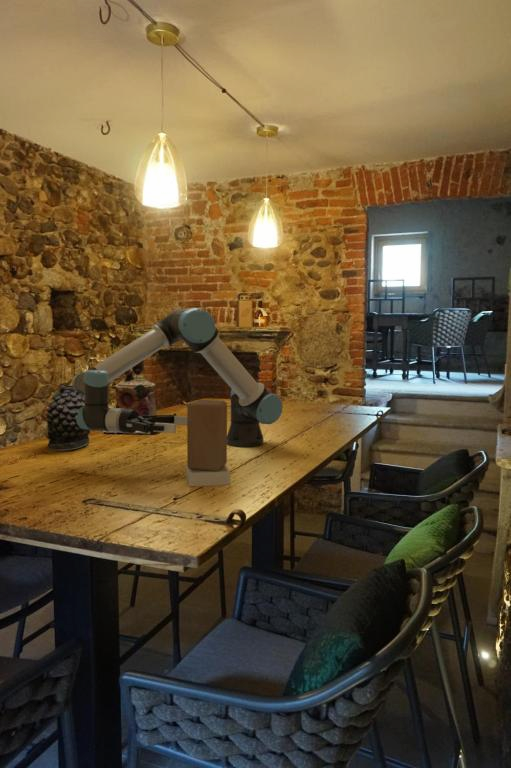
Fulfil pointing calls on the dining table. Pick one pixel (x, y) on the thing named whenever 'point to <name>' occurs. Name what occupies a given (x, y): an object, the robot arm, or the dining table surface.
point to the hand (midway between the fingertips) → (184, 424)
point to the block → (206, 435)
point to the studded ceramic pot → (65, 420)
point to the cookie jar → (136, 393)
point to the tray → (208, 477)
